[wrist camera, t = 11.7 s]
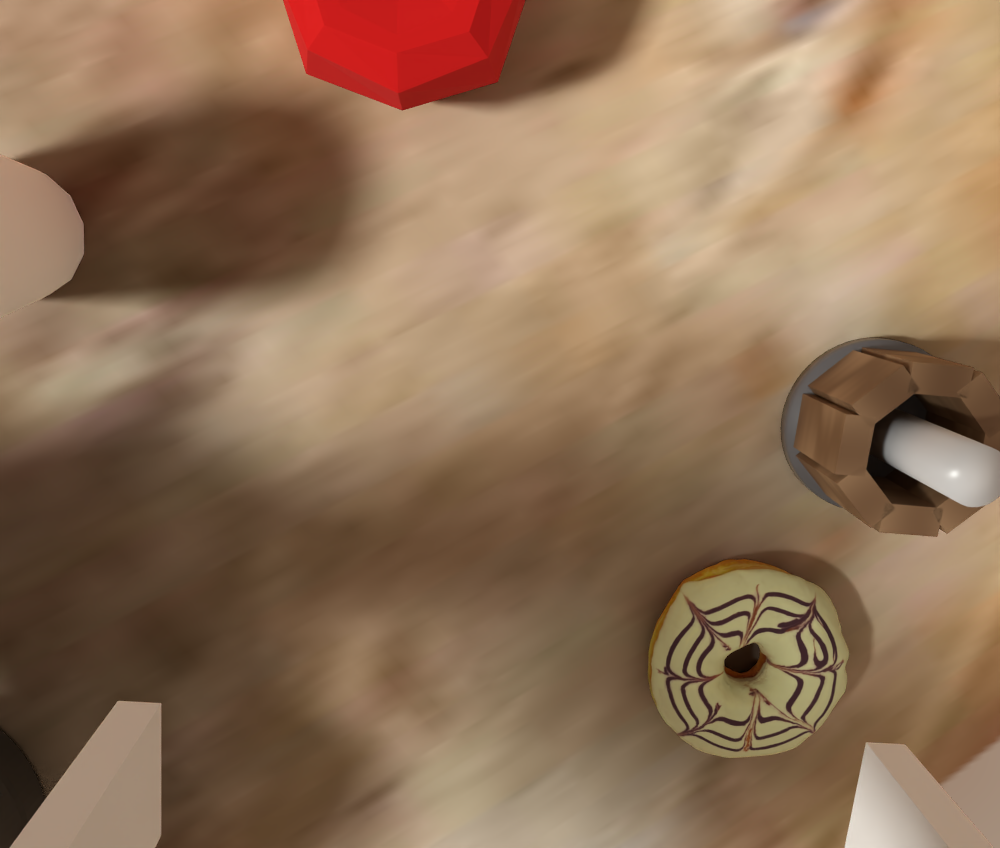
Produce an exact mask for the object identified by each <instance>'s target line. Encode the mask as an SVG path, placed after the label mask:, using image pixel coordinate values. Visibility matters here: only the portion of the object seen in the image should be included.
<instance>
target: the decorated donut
mask: <svg viewBox="0 0 1000 848" xmlns="http://www.w3.org/2000/svg"><path fill="white" fill-rule="evenodd" d="M752 642H755V643H757V644H758V645H759V649H760V657H759V659H758V662H757V663H756V665H754V666H753V667H752V668H751V669H750V670H749V671H747V672H743V673H738V672H735V671H733V670H731V669H730V668H727V667H725V665H724V661H725V658H726V657H727V656H728V655H729V654H730V653H732V652H733V651H735V650H738V649H740V648H742V647H744V646H746V645H748V644H751V643H752ZM648 655H649V657H648V658H649V662H648V681H649V686H650V692H651V695H652V698H653V700H654V703H655V705H656V707H657V709H658V711H659V713H660V715H661V717H662V718H663V719H664V721H665V723H666V724H667V725H669V726H670V727H671V728H672V729H673V730H674V731H675V732H676V734H677V735H678V736H679V737H680V738H681V739H682V740H683V741H685V742H686V743H688V744H690V745H691V746H692V747H693V748H694V749H696V750H699V751H702V752H704V753H708V754H712V755H716V756H721V757H724V758H735V757H752V756H767V755H773V754H777V753H781V752H785V751H788V750H791V749H794V748H796V747H797V746H799V745H800V744H801V743H802V742H803V741H805V740H806V739H807V738H808V737H809V736H811V735H813V734H814V733H815V732H816V731H817V730H818V729H819V727H820V726H822V725H823V723H824V722H825V721H826V719H827V718H828V716H829V715H830V713H831V712H832V709H833V708H834V707H835V705H836V704H837V702H838V701H839V700H840V698H841V696H842V695H843V694H844V693H845V690H846V685H847V674H846V670H845V666H846V663H847V660H848V658H849V650H848V647H847V644H846V642H845V640H844V637H843V636H842V633H841V625H840V623H839V619H838V615H837V611H836V609H835V607H834V605H833V603H832V601H831V599H830V598H829V596H828V595H827V594H826V593H825V592H824V590H823V589H822V588H820V587H819V586H817V585H816V584H814V583H812V582H808V581H806V580H804V579H803V578H801V577H798V576H795V575H792V574H790V573H788V572H786V571H784V570H782V569H779V568H777V567H775V566H772V565H770V564H766V563H762V562H758V561H753V560H748V559H740V560H734V559H728V560H724V561H721V562H719V563H718V564H716V565H713V566H710V567H707V568H705V569H703V570H701V571H699V572H697V573H695V574H694V575H692V576H690V577H688V578H686V579H684V580H683V581H682V582H681V583H680V585H679V586H678V588H677V590H676V591H675V592H674V594H673V596H672V597H671V599H670V601H669V602H668V604H667V606H666V607H665V609H664V611H663V613H662V614H661V616H660V618H659V619H658V621H657V623H656V626H655V629H654V632H653V635H652V638H651V641H650V647H649V653H648Z"/></svg>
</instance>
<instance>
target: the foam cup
mask: <svg viewBox="0 0 1000 848" xmlns="http://www.w3.org/2000/svg"><path fill="white" fill-rule="evenodd" d="M83 255H84V223H83V221H82V219H81V217H80V215H79V213H78V211H77V209H76V207H75V204H74V202H73V200H72V198H71V196H70V195H69V194H68V193H67V192H66V191H65V190H63V189H62V188H61V187H60V186H59V185H58V184H57V183H56V182H54V181H53V180H52V179H51V178H50V177H49V176H48V175H47V174H44V173H42V172H41V171H39V170H36V169H34V168H32V167H29V166H27V165H24V164H22V163H20V162H17V161H15V160H13V159H10V158H8V157H6V156H3V155H1V154H0V318H2V317H4V316H6V315H9V314H11V313H13V312H15V311H17V310H19V309H21V308H24V307H26V306H28V305H30V304H32V303H34V302H36V301H39V300H41V299H43V298H44V297H46V296H48V295H50V294H51V293H53V292H54V291H56V290H57V289H59V288H60V287H61V286H63V285H64V284H66V283H67V282H69V281H70V280H71V279H72V277H73V275H74V273H75V271H76V269H77V267H78V265H79V263H80V261H81V259H82V257H83Z"/></svg>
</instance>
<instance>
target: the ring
mask: <svg viewBox="0 0 1000 848" xmlns="http://www.w3.org/2000/svg"><path fill="white" fill-rule="evenodd" d="M808 386H809V388H810V389H811V390H812V392H813V393H814V394H815V395H813V394H803V395H802V401H801V406H800V412H799V418H798V424H797V429H796V435H795V441H794V446H793V447H794V448H796V449H797V450H799V451H800V452H799V453H798V454H797V455H796V457H797V458H798V459H799V461H800V462H801V463H802V465H803V466H804V467H805V468H806V470H807V471H808V472H809V474H810V475H811V476H812V478H813V479H814V480H815V481H816V483H817V484H818V485H819V487H820V488H821V489H822V491H823V492H824V493H825V494H826V495H827V496H828V497H829V498H831V499H832V500H833V501H835V502H836V503H838V504H839V505H840V506H842V507H843V508H844V509H846V510H847V511H849V512H850V513H851V514H853V515H854V516H855V517H857V518H858V519H860V520H861V521H862V522H864V523H865V524H866V525H868V526H869V527H873V528H874V529H875V530H877V531H878V532H883V533H896V534H909V535H922V536H935V537H937V536H938V531H939V529H940V530H942V531H944V532H945V533H949V532H950V531H951V530H953V529H954V528H955V527H957V526H958V525H959V524H961V523H962V522H963V521H965V520H966V519H967V518H969V517H970V516H972V515H973V514H974V513H976V512H977V511H978V510H980V509H981V508H982V507H984V506H985V505H984V506H981V507H967V506H964V505H962V504H960V503H958V502H956V501H954V500H952V499H951V498H949V497H947V496H945V495H943V494H941V493H940V492H938V491H936V490H934V489H932V488H931V487H929V486H927V485H925V484H923V483H921V482H920V481H918V480H916V479H914V478H912V477H910V476H909V475H907V474H905V473H903V472H901V471H899V470H898V469H894V470H893V471H892V472H890V473H889V474H888V475H887V476H885V477H877V476H870V474H869V473H868V472H867V470H866V467H867V462H868V457H869V452H870V447H871V442H872V437H873V431H874V426H875V424H876V423H877V422H878V421H880V420H881V419H882V418H883V417H885V416H886V415H887V414H889V413H890V412H891V411H893V410H894V409H895V408H896V407H898V406H899V405H900V404H902V403H903V402H904V401H906V400H907V399H908V398H909V397H911V396H912V395H913V394H915V395H916V396H917V398H918V399H919V400H920V402H921V403H922V404H923V406H924V407H925V409H926V410H927V413H926V418H925V420H926V421H928V422H931V423H933V424H935V425H938V426H940V427H943V428H945V429H948V430H950V431H953V432H955V433H957V434H960V435H962V436H965V437H967V438H970V439H972V440H975V441H977V442H980V443H982V444H984V445H987V446H989V447H992V448H994V449H996V450H998V451H999V452H1000V397H999V395H998V394H997V393H996V391H995V390H994V388H993V387H992V385H991V384H990V382H989V381H988V380H987V378H986V377H985V375H984V374H983V373H982V372H979V371H975V370H974V367H970V366H966V365H962V364H959V363H955V362H951V361H947V360H944V359H940V358H936V357H932V356H929V355H925V354H921V353H917V352H909V351H898V350H887V349H876V348H865V347H862V350H861V352H858V351H854V350H852V351H851V352H850V353H849V354H847V355H846V356H845V357H844V358H842V359H841V360H840V361H838V362H837V363H836V364H835V365H833V366H832V367H831V368H829V369H828V370H827V371H826V372H824V373H823V374H822V375H821V376H819V377H818V378H817V379H815V380H814V381H813V382H812V383H810V384H809V385H808Z"/></svg>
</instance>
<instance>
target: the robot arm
mask: <svg viewBox="0 0 1000 848" xmlns="http://www.w3.org/2000/svg"><path fill="white" fill-rule="evenodd" d="M160 837H161V703H149V702H131V701H117V703H116V704H115V705H114V707H113V708H112V710H111V711H110V712H109V714H108V715H107V716H106V718H105V719H104V720H103V722H102V723H101V724H100V726H99V727H98V729H97V730H96V731H95V733H94V734H93V735H92V737H91V738H90V739H89V741H88V742H87V743H86V745H85V746H84V747H83V749H82V750H81V752H80V753H79V754H78V756H77V757H76V758H75V760H74V761H73V762H72V764H71V765H70V766H69V768H68V769H67V771H66V772H65V773H64V775H63V776H62V777H61V779H60V780H59V781H58V783H57V784H56V785H55V787H54V788H53V790H52V791H51V792H50V794H49V795H48V796H47V798H46V799H45V800H44V797H43V793H42V790H41V787H40V784H39V781H38V779H37V777H36V775H35V773H34V771H33V769H32V767H31V765H30V764H29V762H28V761H27V759H26V757H25V756H24V755H23V753H22V752H21V751H20V749H19V748H18V747H17V746H16V745H15V743H14V742H13V741H12V740H11V739H10V738H9V737H8V736H7V735H6V734H5V733H4V732H2V731H1V730H0V848H155V847H156V845H157V843H158V841H159V839H160ZM845 848H994V847H993V846H992V845H991V844H990V842H989V841H988V840H987V839H986V838H985V837H984V835H983V834H982V833H981V832H980V831H979V830H978V828H977V827H976V826H975V825H974V824H973V823H972V822H971V820H970V819H969V818H968V817H967V816H966V815H965V813H964V812H963V811H962V810H961V809H960V808H959V806H958V805H957V804H956V803H955V802H954V801H953V799H952V798H951V797H950V796H949V795H948V794H947V792H946V791H945V790H944V789H943V788H942V787H941V785H940V784H939V783H938V782H937V781H936V780H935V779H934V777H933V776H932V775H931V774H930V773H929V772H928V770H927V769H926V768H925V767H924V766H923V765H922V763H921V762H920V761H919V760H918V759H917V758H916V756H915V755H914V754H913V753H912V752H911V751H910V749H909V748H908V747H907V746H906V745H905V744H890V743H872V742H866V745H865V750H864V755H863V760H862V765H861V770H860V774H859V779H858V784H857V789H856V794H855V799H854V804H853V809H852V814H851V819H850V824H849V829H848V833H847V838H846V843H845Z"/></svg>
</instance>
